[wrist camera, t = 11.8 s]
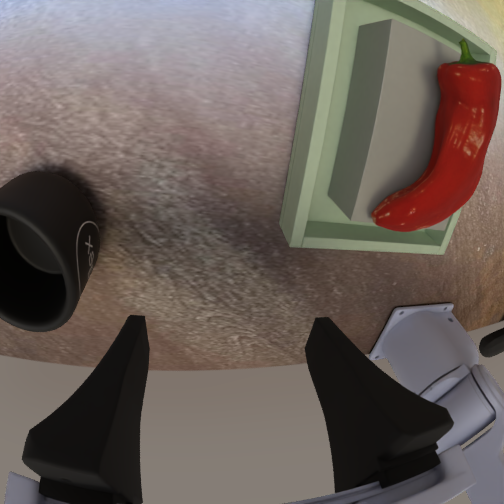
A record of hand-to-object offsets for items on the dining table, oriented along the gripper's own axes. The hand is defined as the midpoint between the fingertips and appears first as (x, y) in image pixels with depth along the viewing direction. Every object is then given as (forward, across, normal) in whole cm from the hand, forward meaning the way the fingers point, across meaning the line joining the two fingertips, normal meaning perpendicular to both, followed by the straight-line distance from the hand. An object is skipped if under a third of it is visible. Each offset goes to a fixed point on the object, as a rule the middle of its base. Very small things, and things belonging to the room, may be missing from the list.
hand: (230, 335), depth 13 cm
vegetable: (+6, -11, -9) cm, 15 cm away
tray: (+10, -11, -9) cm, 18 cm away
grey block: (+10, -11, -9) cm, 18 cm away
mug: (+11, +14, 0) cm, 18 cm away
